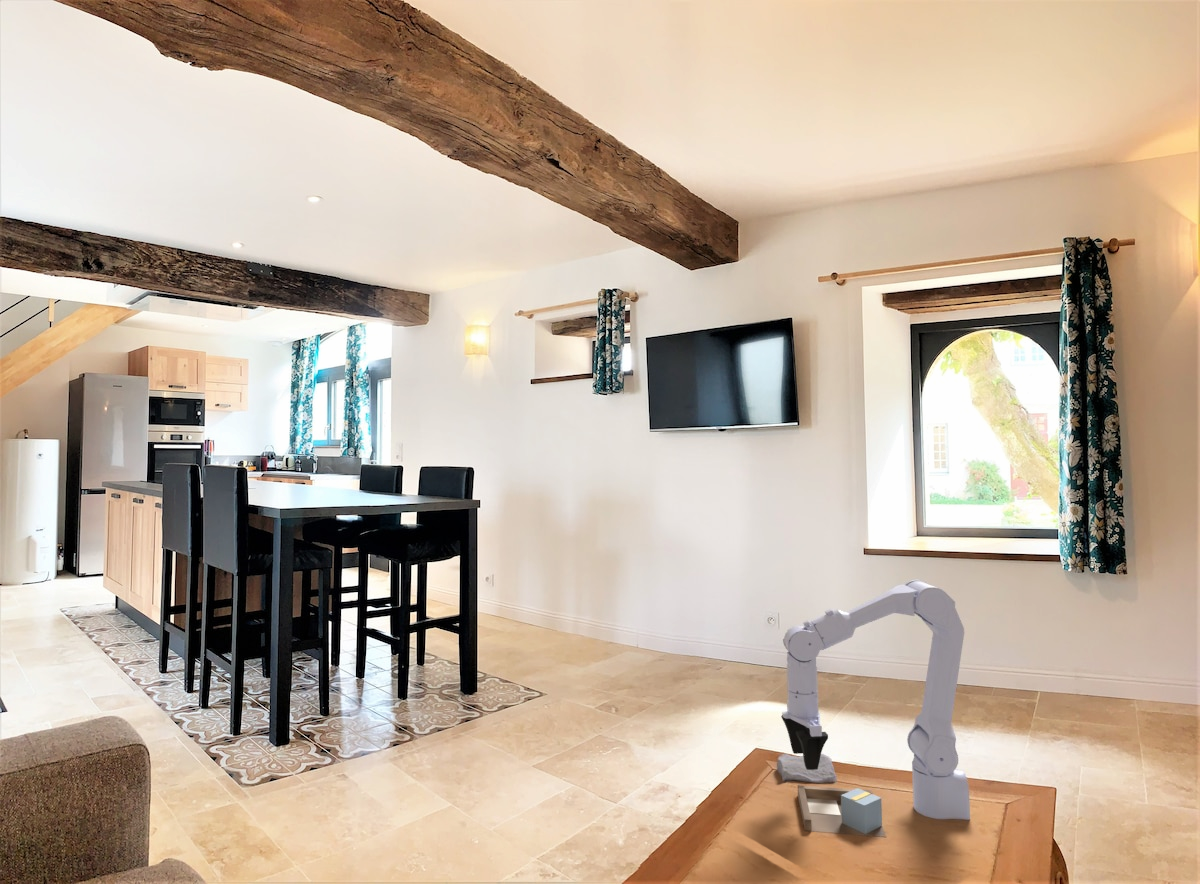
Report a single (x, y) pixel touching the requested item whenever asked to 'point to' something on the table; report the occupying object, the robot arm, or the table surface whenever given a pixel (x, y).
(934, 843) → the table surface
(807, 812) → the tray
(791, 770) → the stone block
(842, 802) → the cube
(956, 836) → the table surface
